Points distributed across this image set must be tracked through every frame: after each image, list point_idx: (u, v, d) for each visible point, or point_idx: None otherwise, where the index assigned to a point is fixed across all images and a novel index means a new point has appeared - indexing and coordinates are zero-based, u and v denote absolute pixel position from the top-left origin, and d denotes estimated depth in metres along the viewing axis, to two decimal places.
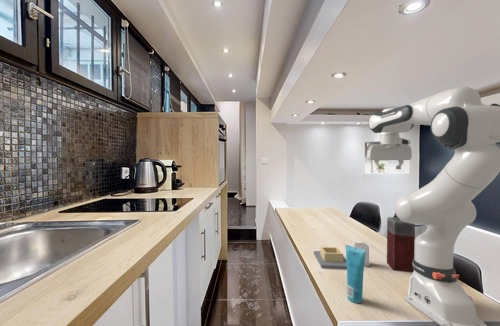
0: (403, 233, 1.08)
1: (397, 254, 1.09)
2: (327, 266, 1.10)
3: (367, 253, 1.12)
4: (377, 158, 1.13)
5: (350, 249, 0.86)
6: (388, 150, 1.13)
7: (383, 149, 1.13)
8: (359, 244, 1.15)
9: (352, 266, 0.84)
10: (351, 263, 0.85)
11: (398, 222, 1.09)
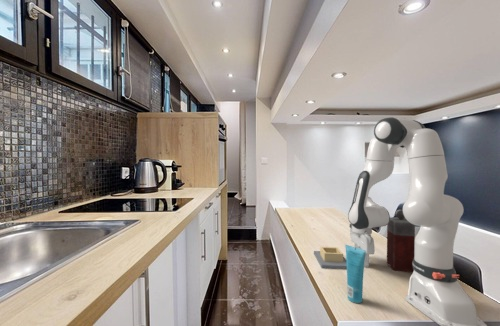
0: (403, 233, 1.08)
1: (397, 254, 1.09)
2: (327, 266, 1.10)
3: None
4: None
5: (350, 249, 0.86)
6: None
7: None
8: None
9: (352, 266, 0.84)
10: (351, 263, 0.85)
11: (398, 222, 1.09)
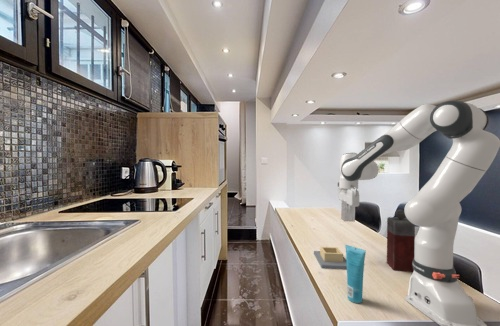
0: (403, 233, 1.08)
1: (397, 254, 1.09)
2: (327, 266, 1.10)
3: (353, 208, 1.14)
4: None
5: (350, 249, 0.86)
6: None
7: None
8: None
9: (352, 266, 0.84)
10: (351, 263, 0.85)
11: (398, 222, 1.09)
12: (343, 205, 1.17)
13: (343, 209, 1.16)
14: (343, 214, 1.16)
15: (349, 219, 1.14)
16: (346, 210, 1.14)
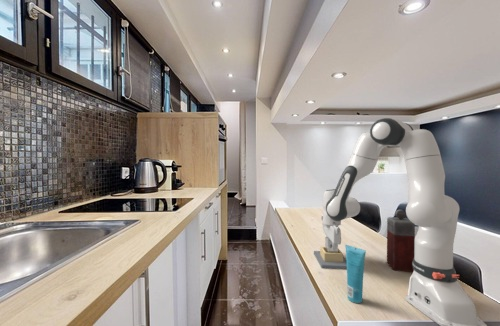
0: (403, 233, 1.08)
1: (397, 254, 1.09)
2: (327, 266, 1.10)
3: None
4: None
5: (350, 249, 0.86)
6: None
7: None
8: None
9: (352, 266, 0.84)
10: (351, 263, 0.85)
11: (398, 222, 1.09)
12: (326, 243, 1.19)
13: (326, 247, 1.18)
14: (327, 252, 1.17)
15: None
16: (329, 249, 1.16)
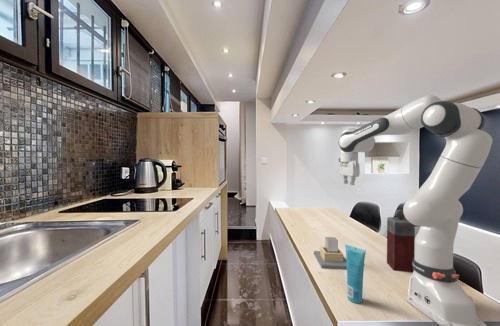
0: (403, 233, 1.08)
1: (397, 254, 1.09)
2: (327, 266, 1.10)
3: (336, 247, 1.16)
4: None
5: (350, 249, 0.86)
6: None
7: None
8: (329, 238, 1.19)
9: (352, 266, 0.84)
10: (351, 263, 0.85)
11: (398, 222, 1.09)
12: (326, 243, 1.19)
13: (326, 247, 1.18)
14: (327, 252, 1.17)
15: None
16: (329, 249, 1.16)
